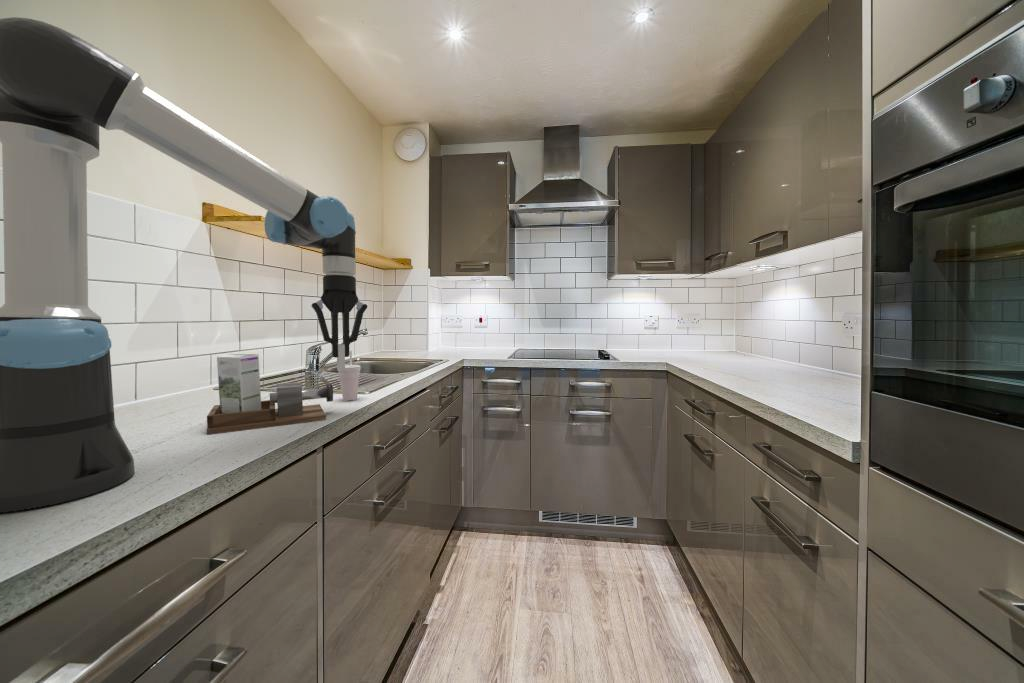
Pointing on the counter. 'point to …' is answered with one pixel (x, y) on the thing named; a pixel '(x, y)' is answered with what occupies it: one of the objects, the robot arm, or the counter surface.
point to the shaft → (311, 394)
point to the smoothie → (350, 380)
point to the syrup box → (239, 383)
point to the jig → (267, 412)
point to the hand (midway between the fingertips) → (341, 370)
